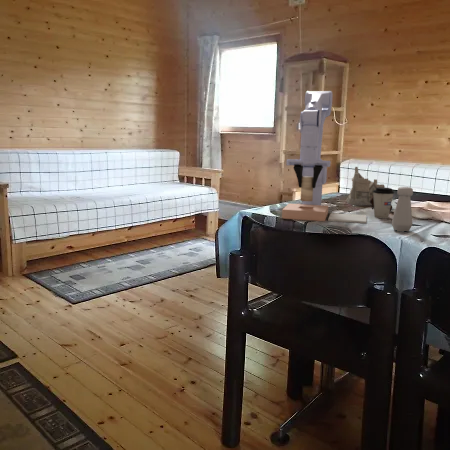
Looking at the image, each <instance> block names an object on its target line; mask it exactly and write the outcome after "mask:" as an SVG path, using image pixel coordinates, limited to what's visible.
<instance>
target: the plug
mask: <svg viewBox="0 0 450 450" xmlns="http://www.w3.org/2000/svg"><path fill="white" fill-rule="evenodd" d="M312 199H313V177H308V176H304V177H302V180H301V187H300V201H301V202H302V201H312Z"/></svg>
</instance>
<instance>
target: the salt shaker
mask: <svg viewBox="0 0 450 450" xmlns="http://www.w3.org/2000/svg"><path fill="white" fill-rule="evenodd" d="M396 193H397V194H396V195H397V196H398V199H397V202H396V206H395V210H394V213H393V216H392V221H391V225H392V228H393V231H395V230H397V231H396V232H398V231H409V232H410V231H411V228H412V227H413V215H412V213H413V212H412V201H411V200H412V199H411V196H413V194H414V189H413V188H412V187H410V186H400V187H397V192H396Z"/></svg>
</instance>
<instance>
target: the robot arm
mask: <svg viewBox="0 0 450 450" xmlns="http://www.w3.org/2000/svg"><path fill="white" fill-rule="evenodd" d="M304 95H305V96H304V107H305V108H304V110H303V111H300V115H299V126H300V127H299V128H300V129H299V133H300V148H299V159H292V158H291V159H286V161H285V162H286V166H293V170H294V172H295V175H296V179H297V184H298V188H301V180H302V177H304V176H308V177H313V199H312V201H301V204H307V205H322V199H323V197H322V196H323V186H324V185H325V184H326V183H327V178H328V168H329V167H331V163H332V162H331V160H323V159H322V158H321V157H322V145H323V135H324V134H323V133H324V125H325V121H326V118H328V117H329V116H331V113H332V106H333V91H332V90H322V91H321V90H319V91H318V90H313V91H312V90H311V91H310V90H307V91H306V92H305V94H304Z"/></svg>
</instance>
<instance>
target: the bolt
mask: <svg viewBox="0 0 450 450" xmlns="http://www.w3.org/2000/svg"><path fill="white" fill-rule="evenodd" d="M370 203H371V205H370V206H372V207H373V208H374V195H373V196H372V197H371V199H370ZM392 210H393V205H392V204H391V207H390V212H392Z"/></svg>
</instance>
